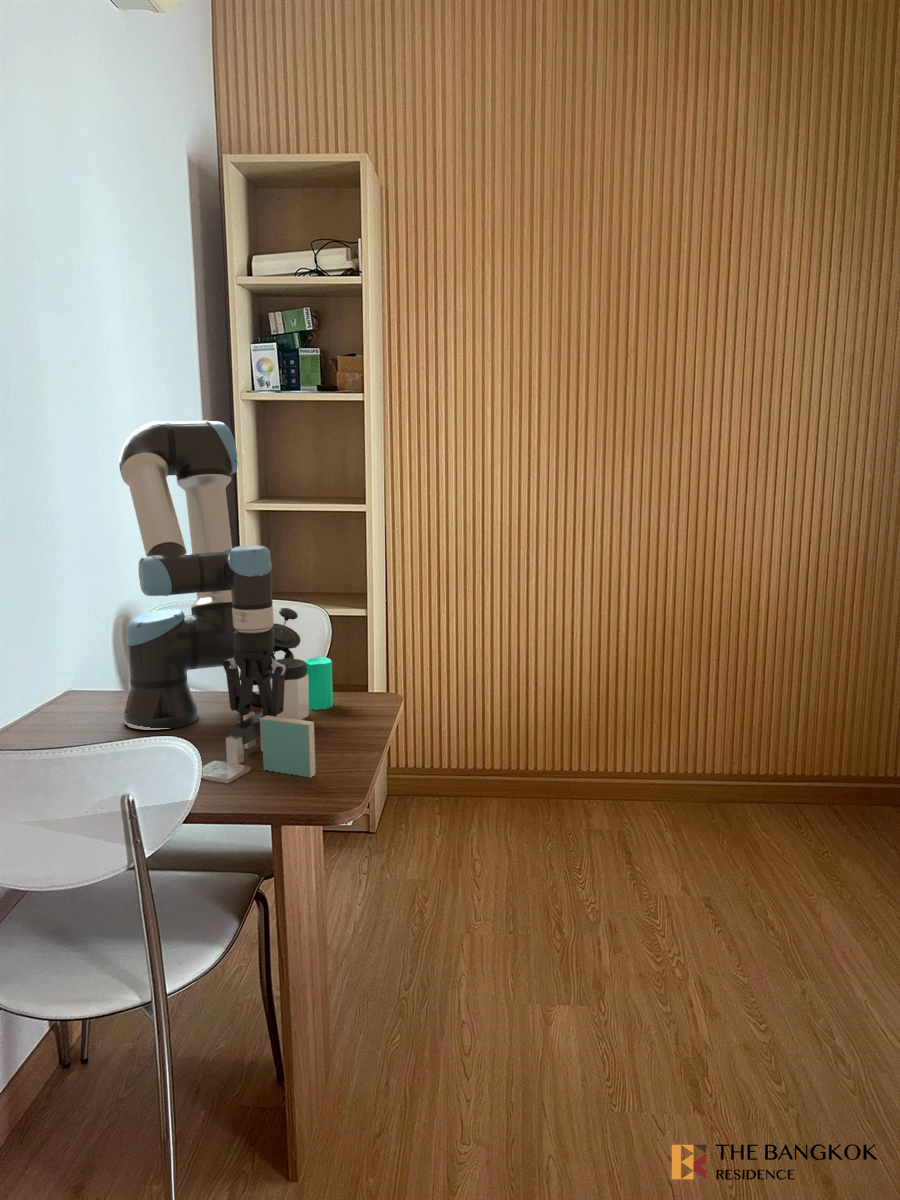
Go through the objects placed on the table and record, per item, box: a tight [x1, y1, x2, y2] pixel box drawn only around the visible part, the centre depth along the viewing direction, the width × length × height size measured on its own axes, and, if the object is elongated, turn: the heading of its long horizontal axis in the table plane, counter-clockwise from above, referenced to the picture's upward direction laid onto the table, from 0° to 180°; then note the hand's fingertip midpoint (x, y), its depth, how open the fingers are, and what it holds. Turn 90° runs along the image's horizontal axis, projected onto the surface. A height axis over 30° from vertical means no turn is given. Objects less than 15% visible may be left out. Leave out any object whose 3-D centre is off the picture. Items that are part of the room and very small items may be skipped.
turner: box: [202, 711, 277, 784], centre depth 180 cm, size 20×8×7 cm, turn 157°
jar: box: [270, 658, 310, 720], centre depth 206 cm, size 9×8×12 cm
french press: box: [251, 607, 301, 710], centre depth 212 cm, size 12×9×23 cm
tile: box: [262, 715, 317, 778], centre depth 174 cm, size 2×10×10 cm, turn 67°
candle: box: [305, 656, 334, 711], centre depth 215 cm, size 6×6×12 cm
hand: (258, 747), depth 185 cm, fingers closed on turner, 3 cm apart
